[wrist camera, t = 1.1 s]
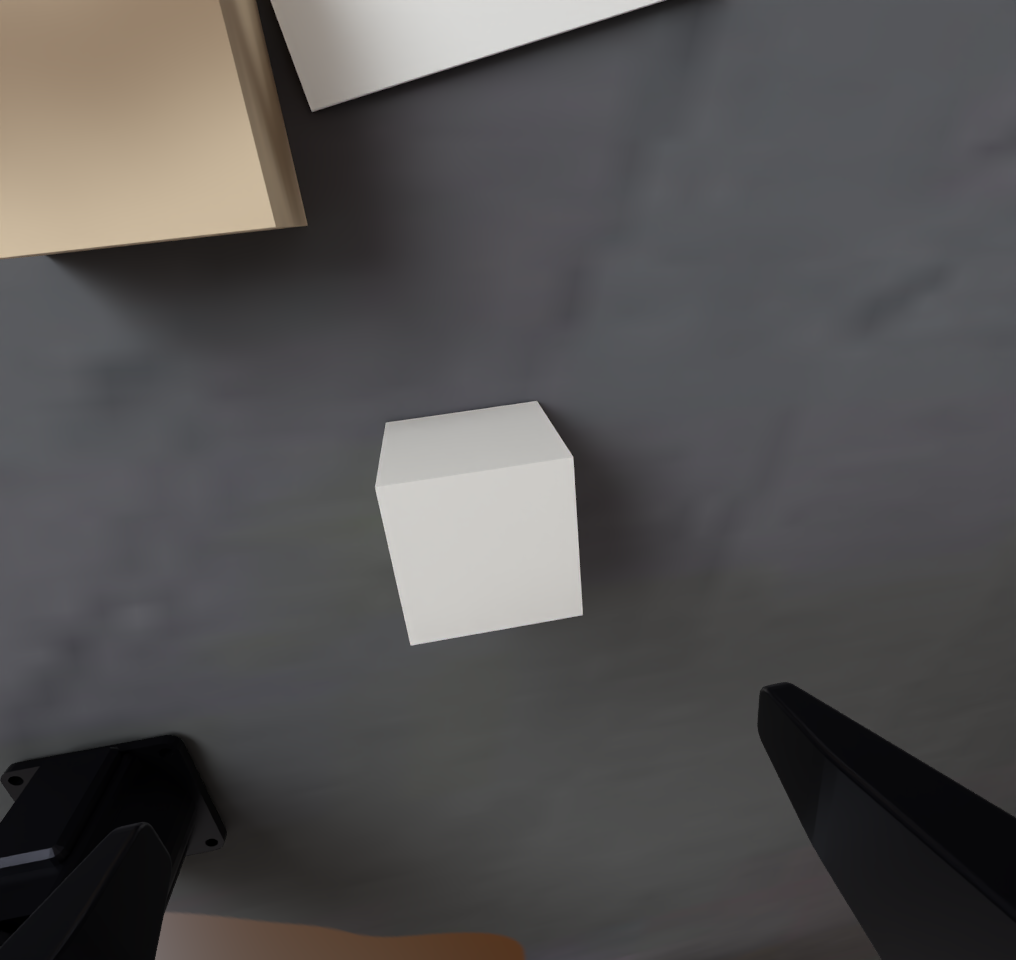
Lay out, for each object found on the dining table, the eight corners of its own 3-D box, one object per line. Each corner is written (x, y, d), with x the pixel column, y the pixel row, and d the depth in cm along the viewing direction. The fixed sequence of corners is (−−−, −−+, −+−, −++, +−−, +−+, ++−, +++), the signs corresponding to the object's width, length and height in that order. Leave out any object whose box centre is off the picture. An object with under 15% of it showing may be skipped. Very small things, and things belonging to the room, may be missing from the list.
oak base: (307, 225, 16) (275, 227, 13) (45, 255, 16) (-67, 265, 12) (232, -106, 13) (161, -230, 10) (-95, -85, 13) (-303, -209, 9)
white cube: (548, 530, 21) (582, 615, 17) (412, 553, 21) (410, 645, 16) (536, 401, 19) (573, 457, 15) (386, 422, 19) (375, 487, 14)
